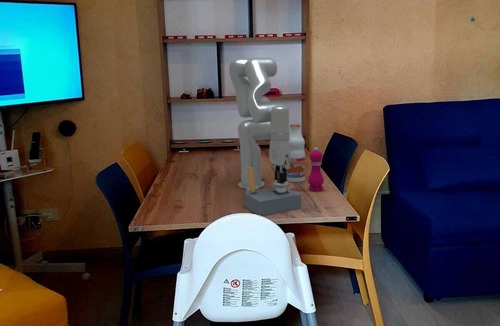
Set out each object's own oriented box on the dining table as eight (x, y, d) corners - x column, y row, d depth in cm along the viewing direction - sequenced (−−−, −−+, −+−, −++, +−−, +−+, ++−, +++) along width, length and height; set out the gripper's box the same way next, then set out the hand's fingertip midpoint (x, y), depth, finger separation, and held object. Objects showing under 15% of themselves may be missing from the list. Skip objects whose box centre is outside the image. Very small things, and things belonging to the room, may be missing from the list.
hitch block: (244, 206, 202) (243, 187, 200) (283, 199, 210) (283, 181, 208) (260, 216, 190) (259, 196, 188) (301, 208, 198) (301, 188, 196)
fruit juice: (307, 178, 242) (307, 123, 236) (302, 183, 234) (302, 126, 227) (288, 177, 246) (288, 122, 239) (283, 182, 237) (283, 125, 231)
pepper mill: (322, 187, 226) (322, 145, 222) (325, 191, 219) (325, 148, 215) (306, 187, 226) (306, 146, 222) (309, 192, 219) (309, 149, 215)
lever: (251, 193, 198) (249, 193, 199) (255, 192, 198) (254, 192, 200) (248, 167, 197) (246, 167, 198) (253, 167, 198) (251, 166, 199)
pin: (270, 197, 202) (269, 170, 199) (284, 195, 205) (283, 167, 202) (278, 201, 197) (277, 173, 194) (292, 198, 199) (291, 170, 197)
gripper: (262, 134, 200) (263, 177, 204) (282, 140, 186) (283, 186, 190) (277, 133, 204) (278, 175, 208) (299, 138, 189) (299, 184, 193)
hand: (280, 180), depth 199 cm, fingers closed on pin, 3 cm apart
